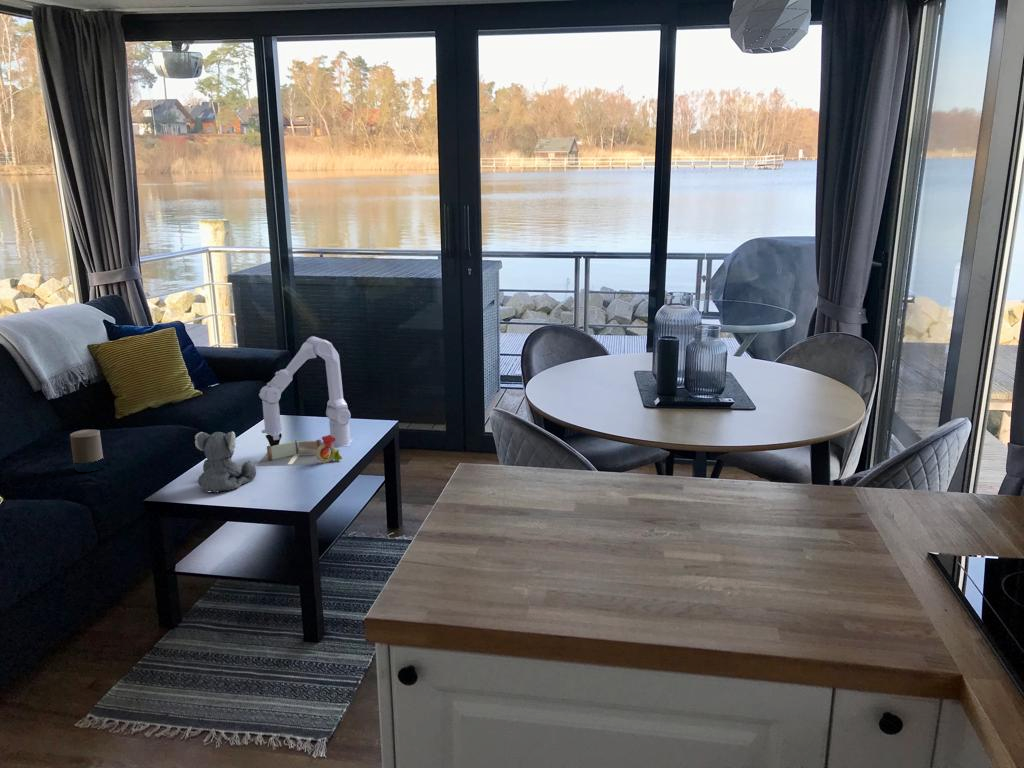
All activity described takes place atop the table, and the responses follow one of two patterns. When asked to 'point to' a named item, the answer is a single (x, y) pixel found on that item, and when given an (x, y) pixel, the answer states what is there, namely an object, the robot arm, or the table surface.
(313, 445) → the fence fixed section
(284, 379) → the robot arm
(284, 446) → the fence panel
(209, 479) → the koala plush
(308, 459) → the board
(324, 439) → the bird rattle
